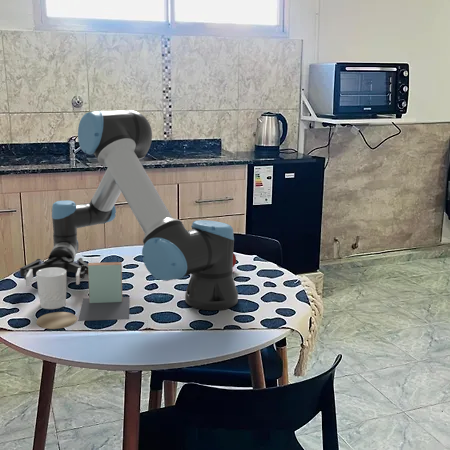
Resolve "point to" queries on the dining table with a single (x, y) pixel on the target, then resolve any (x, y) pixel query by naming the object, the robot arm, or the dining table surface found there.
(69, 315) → the coaster
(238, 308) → the dining table surface
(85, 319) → the mat
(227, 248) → the robot arm
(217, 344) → the dining table surface
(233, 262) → the onion
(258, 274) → the dining table surface
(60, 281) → the white cup
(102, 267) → the tile
